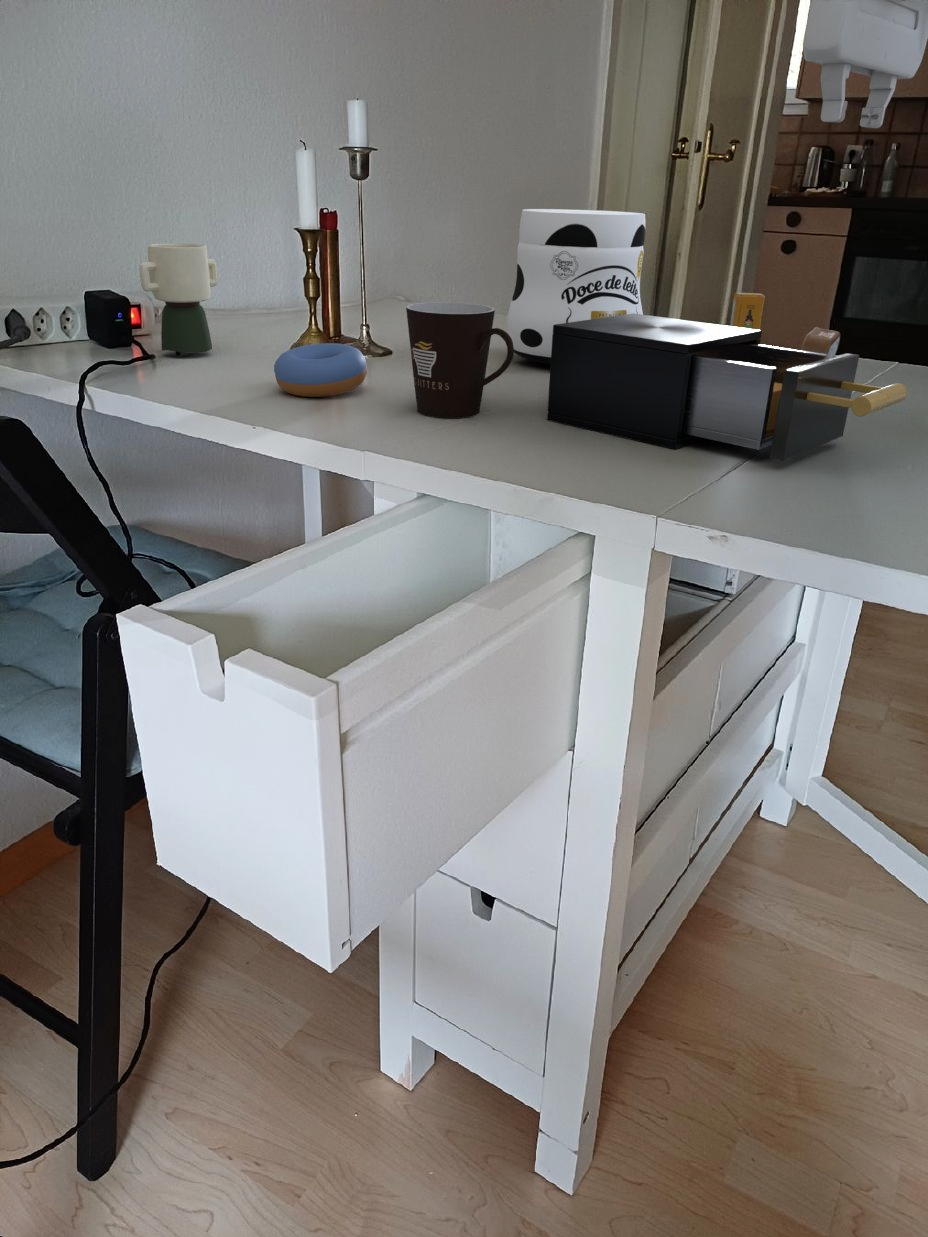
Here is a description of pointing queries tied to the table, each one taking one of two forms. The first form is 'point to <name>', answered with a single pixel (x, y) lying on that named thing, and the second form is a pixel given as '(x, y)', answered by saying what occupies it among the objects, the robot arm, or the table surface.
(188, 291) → the character mug
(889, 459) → the table surface
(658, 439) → the black drawer box
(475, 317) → the coffee mug
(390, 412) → the table surface
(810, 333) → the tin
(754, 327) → the supplement box
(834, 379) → the drawer with wooden handle
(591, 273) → the milk container
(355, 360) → the doughnut
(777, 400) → the tan block
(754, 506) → the table surface
